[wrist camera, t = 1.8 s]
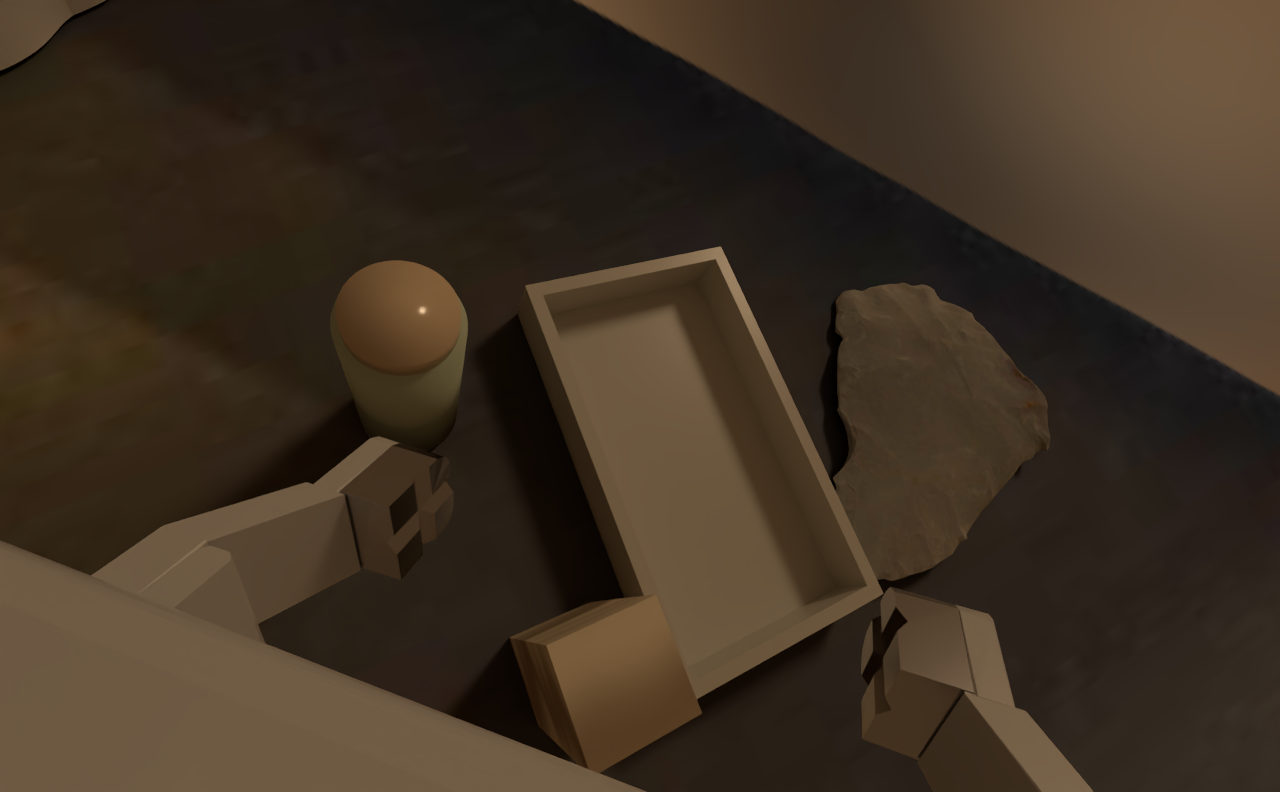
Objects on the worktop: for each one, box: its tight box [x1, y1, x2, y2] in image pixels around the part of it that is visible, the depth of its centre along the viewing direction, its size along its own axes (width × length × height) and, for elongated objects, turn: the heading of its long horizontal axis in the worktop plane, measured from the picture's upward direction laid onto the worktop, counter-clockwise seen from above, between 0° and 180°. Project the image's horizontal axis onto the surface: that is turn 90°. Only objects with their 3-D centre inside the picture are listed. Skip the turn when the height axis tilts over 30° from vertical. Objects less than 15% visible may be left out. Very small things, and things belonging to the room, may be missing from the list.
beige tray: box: [517, 247, 883, 699], centre depth 36 cm, size 24×14×4 cm, turn 24°
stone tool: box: [833, 283, 1050, 581], centre depth 43 cm, size 20×3×25 cm
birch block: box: [509, 595, 702, 773], centre depth 27 cm, size 4×4×11 cm
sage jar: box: [330, 261, 468, 451], centre depth 28 cm, size 5×5×12 cm
